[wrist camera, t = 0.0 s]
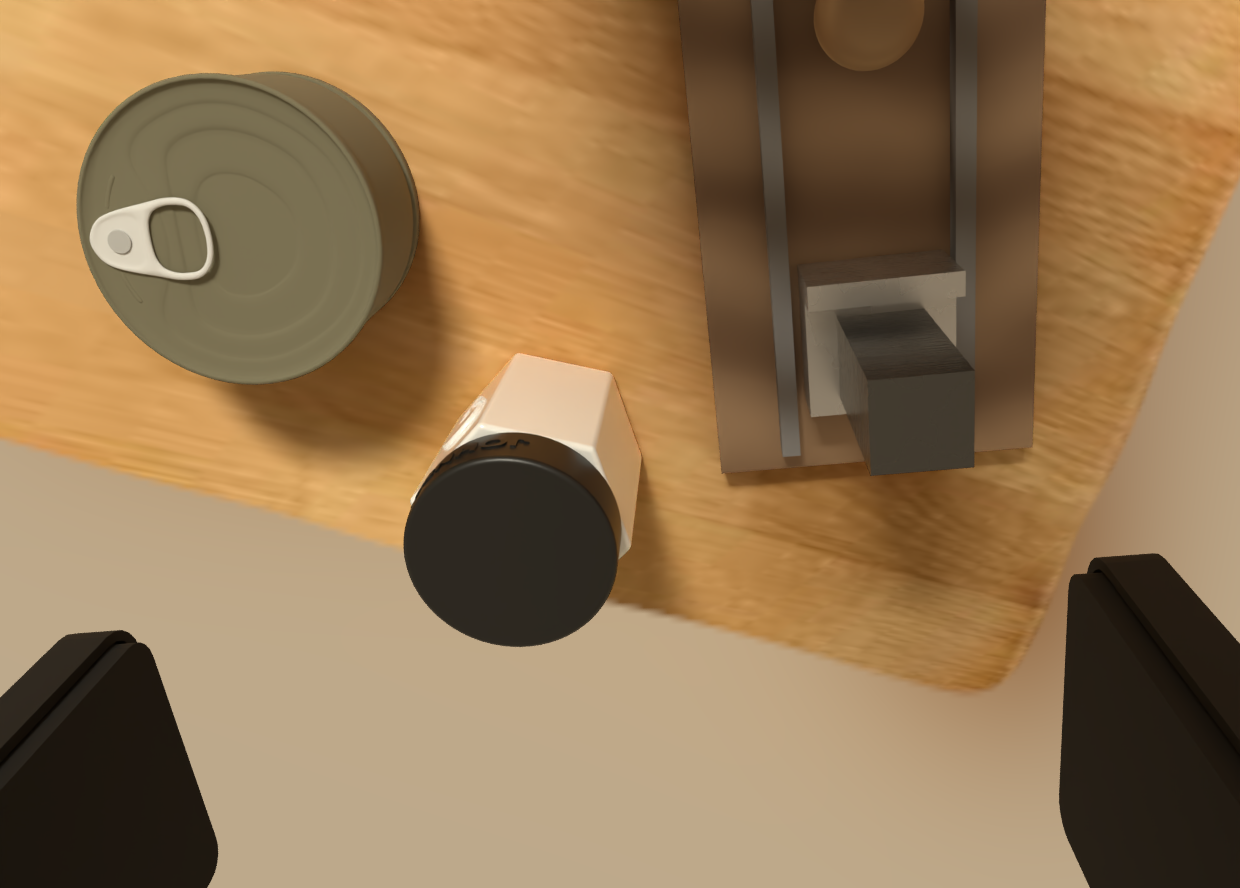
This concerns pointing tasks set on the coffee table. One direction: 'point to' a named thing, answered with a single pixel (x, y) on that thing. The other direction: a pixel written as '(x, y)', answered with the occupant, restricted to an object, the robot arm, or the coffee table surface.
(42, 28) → the coffee table surface
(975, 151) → the board
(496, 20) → the coffee table surface
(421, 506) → the jar
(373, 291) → the can
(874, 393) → the handle
